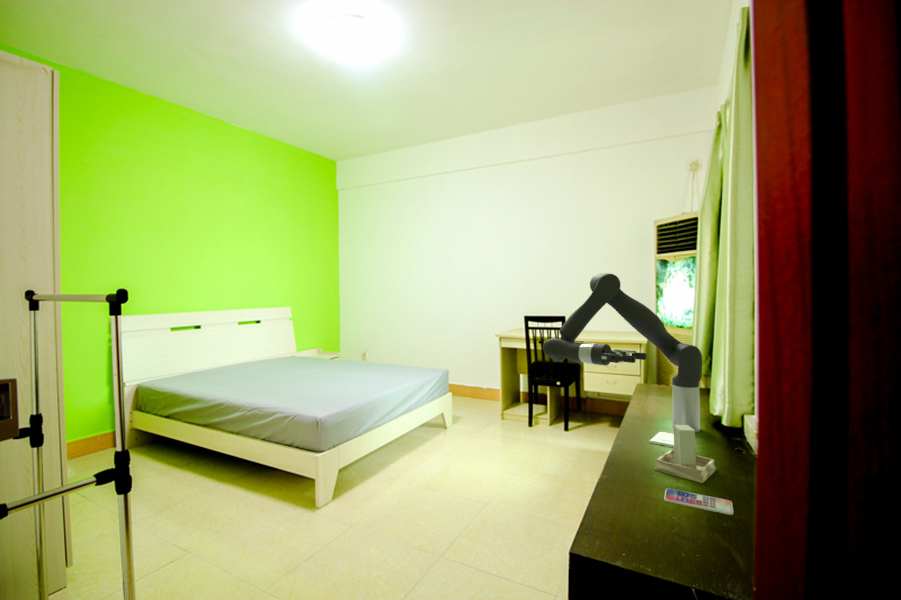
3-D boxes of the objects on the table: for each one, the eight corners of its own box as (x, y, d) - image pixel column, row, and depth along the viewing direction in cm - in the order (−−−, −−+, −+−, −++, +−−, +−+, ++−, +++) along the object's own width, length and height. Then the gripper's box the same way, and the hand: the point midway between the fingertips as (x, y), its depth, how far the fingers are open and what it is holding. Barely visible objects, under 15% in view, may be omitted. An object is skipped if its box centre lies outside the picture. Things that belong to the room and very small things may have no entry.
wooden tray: (670, 458, 136) (670, 448, 136) (716, 469, 127) (716, 459, 126) (654, 469, 127) (654, 459, 127) (702, 483, 118) (702, 472, 118)
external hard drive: (683, 440, 154) (674, 449, 145) (659, 435, 160) (649, 444, 150) (683, 435, 154) (674, 444, 145) (659, 431, 160) (649, 439, 150)
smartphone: (733, 513, 100) (663, 499, 108) (734, 517, 100) (663, 502, 108) (732, 500, 107) (665, 487, 114) (732, 503, 107) (665, 490, 114)
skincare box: (696, 472, 123) (696, 430, 123) (680, 471, 124) (679, 430, 124) (689, 463, 130) (688, 424, 130) (673, 463, 131) (672, 423, 130)
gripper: (584, 345, 146) (631, 348, 134) (604, 341, 156) (649, 344, 144) (584, 366, 146) (631, 372, 134) (604, 361, 156) (649, 366, 144)
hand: (640, 358), depth 139 cm, fingers open, 8 cm apart
